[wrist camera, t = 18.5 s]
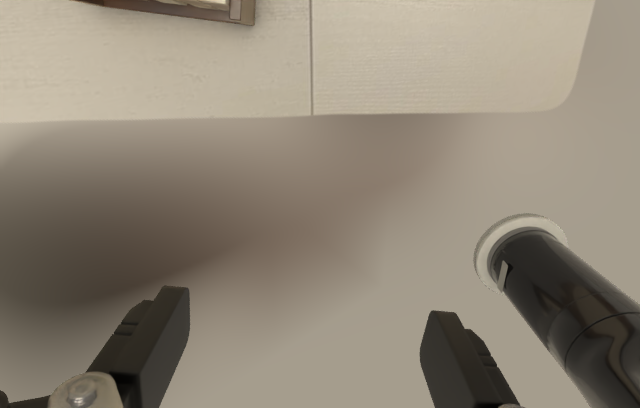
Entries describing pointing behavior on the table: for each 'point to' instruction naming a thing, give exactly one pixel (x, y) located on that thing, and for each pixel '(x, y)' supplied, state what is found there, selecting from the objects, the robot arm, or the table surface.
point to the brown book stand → (189, 9)
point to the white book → (172, 2)
